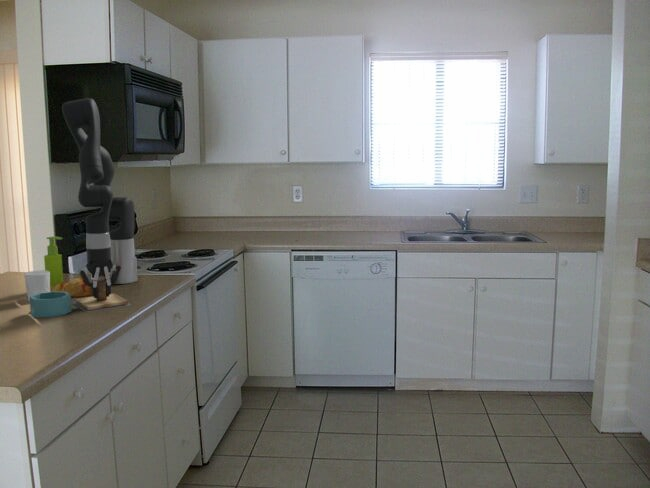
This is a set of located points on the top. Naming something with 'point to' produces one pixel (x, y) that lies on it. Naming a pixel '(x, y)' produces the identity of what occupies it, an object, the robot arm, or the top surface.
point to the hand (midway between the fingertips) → (101, 296)
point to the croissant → (73, 288)
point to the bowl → (50, 304)
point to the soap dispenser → (54, 262)
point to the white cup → (37, 282)
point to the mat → (97, 309)
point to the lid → (101, 298)
